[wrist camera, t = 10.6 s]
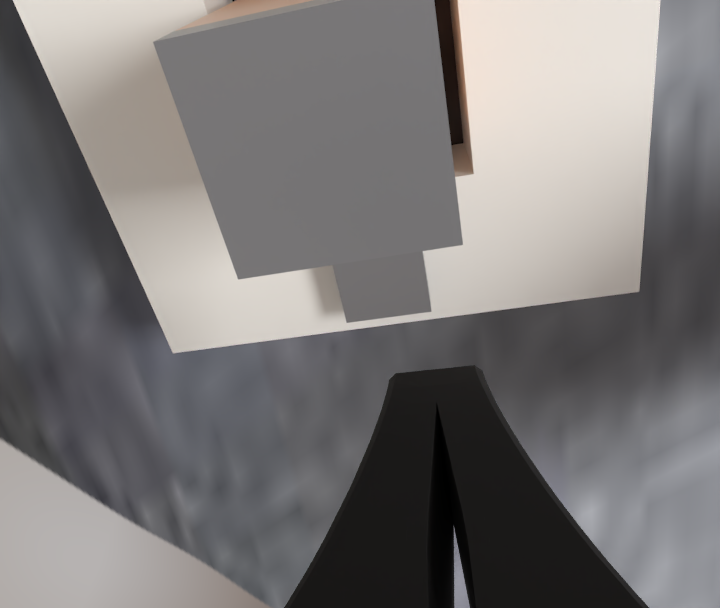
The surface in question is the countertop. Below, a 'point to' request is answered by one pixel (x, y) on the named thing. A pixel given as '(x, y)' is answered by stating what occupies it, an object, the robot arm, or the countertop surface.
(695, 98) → the countertop surface
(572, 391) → the countertop surface
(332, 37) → the plug
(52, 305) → the countertop surface
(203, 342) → the socket plate
